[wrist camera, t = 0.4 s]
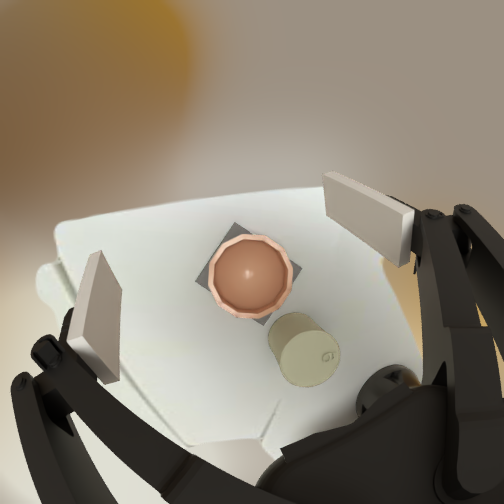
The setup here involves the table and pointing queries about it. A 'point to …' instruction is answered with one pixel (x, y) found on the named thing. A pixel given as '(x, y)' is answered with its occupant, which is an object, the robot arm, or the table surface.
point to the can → (303, 350)
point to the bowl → (250, 276)
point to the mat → (232, 233)
